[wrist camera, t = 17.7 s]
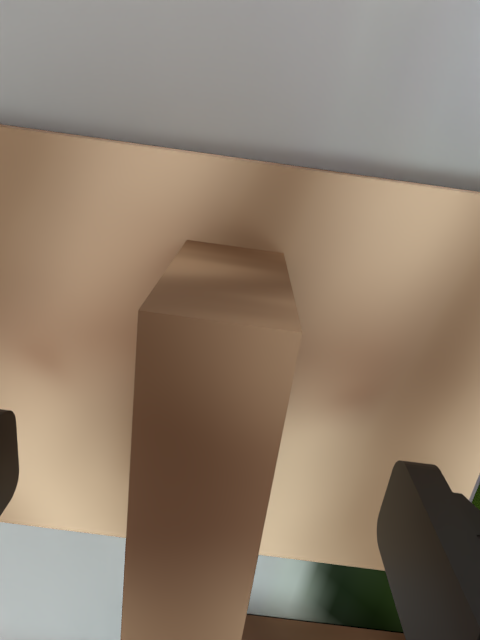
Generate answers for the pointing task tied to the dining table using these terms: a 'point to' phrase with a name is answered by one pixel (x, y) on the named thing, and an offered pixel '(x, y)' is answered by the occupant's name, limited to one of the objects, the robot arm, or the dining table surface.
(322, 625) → the toolbox
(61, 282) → the lid
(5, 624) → the dining table surface
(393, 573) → the robot arm
